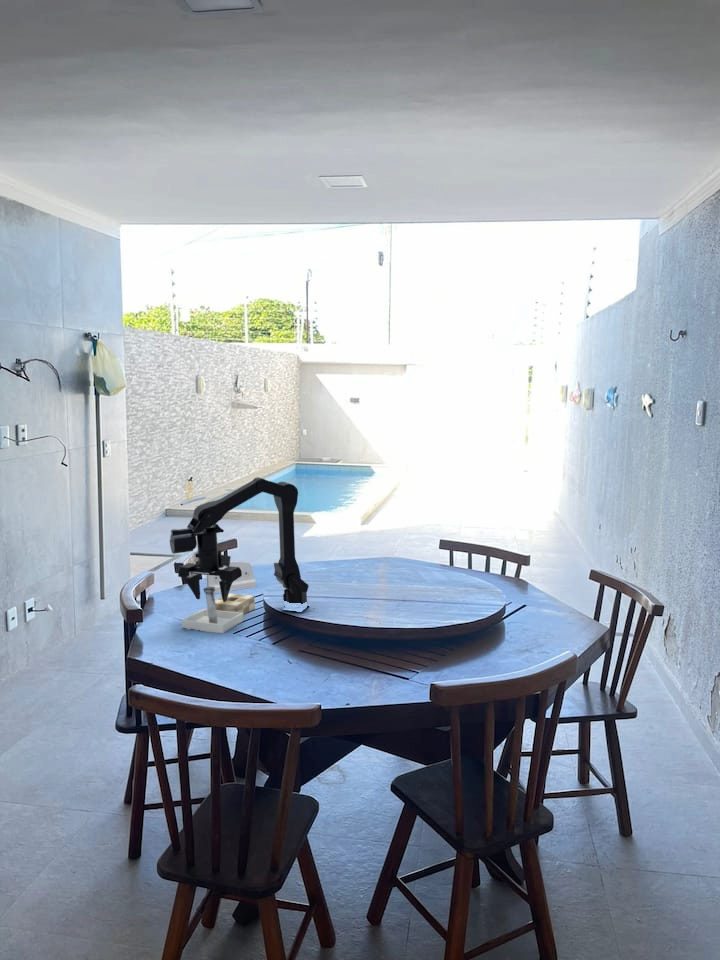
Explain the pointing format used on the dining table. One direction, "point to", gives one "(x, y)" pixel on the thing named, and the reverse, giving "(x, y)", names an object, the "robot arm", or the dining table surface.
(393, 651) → the dining table surface
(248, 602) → the block
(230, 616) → the tray
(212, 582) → the hinge
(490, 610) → the dining table surface
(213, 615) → the pin
